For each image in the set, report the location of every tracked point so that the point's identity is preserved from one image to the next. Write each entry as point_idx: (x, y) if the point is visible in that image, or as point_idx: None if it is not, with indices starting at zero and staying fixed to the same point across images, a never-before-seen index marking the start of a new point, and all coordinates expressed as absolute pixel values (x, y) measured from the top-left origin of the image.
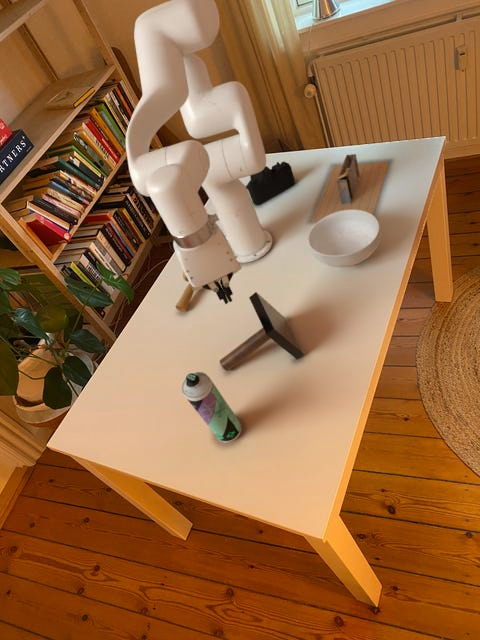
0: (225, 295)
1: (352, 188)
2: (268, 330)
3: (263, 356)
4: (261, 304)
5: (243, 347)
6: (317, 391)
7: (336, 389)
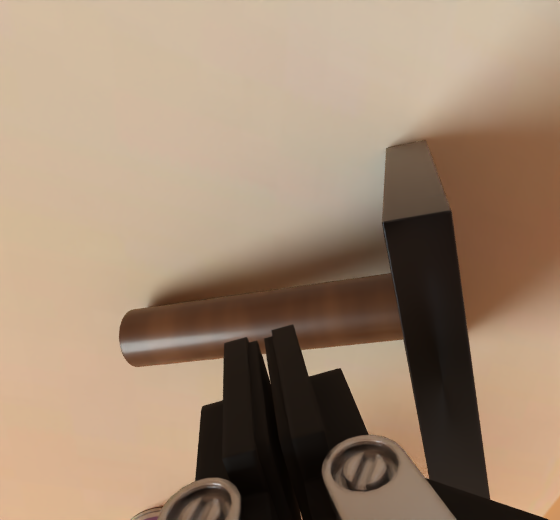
0: (269, 387)
1: None
2: None
3: None
4: (462, 334)
5: None
6: None
7: (505, 466)
